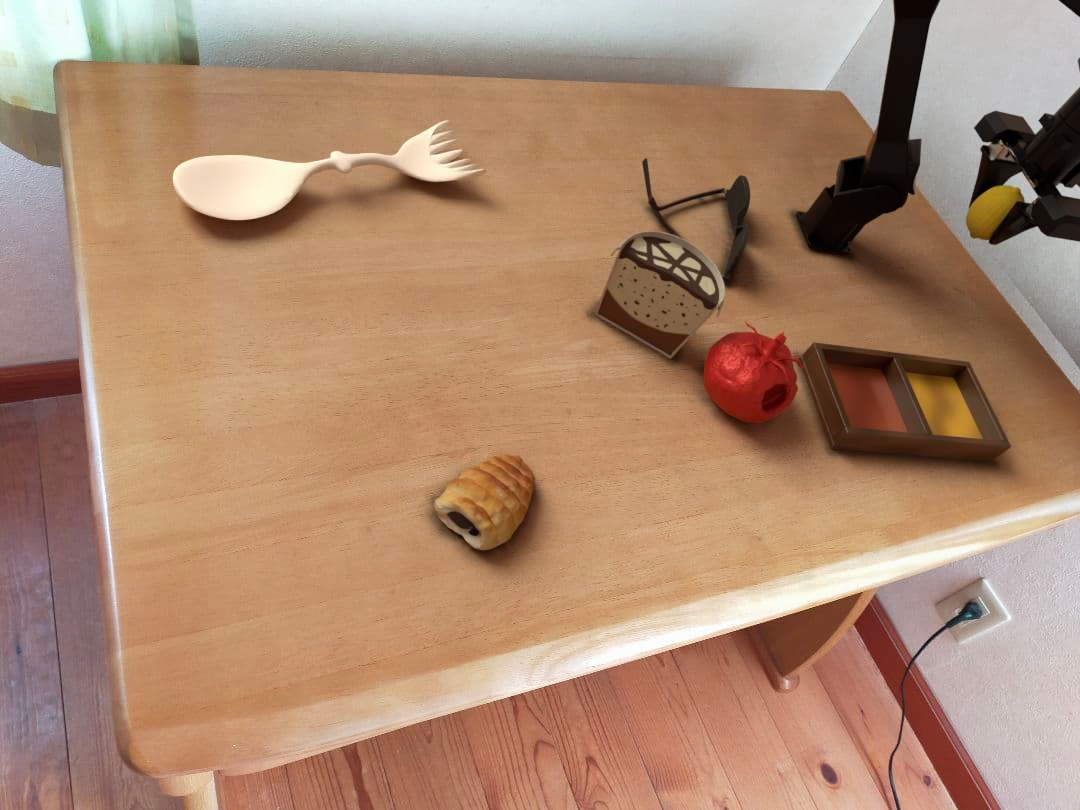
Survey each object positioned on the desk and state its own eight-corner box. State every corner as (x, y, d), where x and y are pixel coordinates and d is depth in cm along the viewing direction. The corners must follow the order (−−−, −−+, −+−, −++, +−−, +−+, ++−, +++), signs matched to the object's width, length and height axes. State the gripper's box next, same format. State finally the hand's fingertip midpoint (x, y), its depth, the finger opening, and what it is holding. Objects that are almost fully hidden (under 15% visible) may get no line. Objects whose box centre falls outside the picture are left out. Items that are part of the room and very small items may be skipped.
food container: (699, 331, 97) (743, 269, 90) (682, 366, 93) (727, 304, 86) (602, 275, 97) (638, 208, 90) (582, 307, 93) (618, 240, 86)
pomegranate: (676, 392, 91) (718, 335, 84) (715, 342, 97) (757, 285, 90) (754, 450, 89) (804, 398, 82) (789, 396, 96) (838, 343, 89)
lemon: (994, 259, 108) (1043, 211, 102) (955, 243, 107) (1002, 194, 101) (987, 230, 112) (1034, 182, 105) (949, 215, 111) (994, 166, 105)
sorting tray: (830, 448, 93) (847, 432, 91) (798, 359, 100) (813, 342, 97) (992, 461, 100) (1012, 447, 98) (952, 377, 107) (969, 361, 104)
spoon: (481, 192, 99) (489, 168, 96) (192, 240, 82) (193, 213, 80) (444, 139, 102) (451, 115, 100) (159, 175, 86) (159, 146, 83)
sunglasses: (634, 160, 112) (650, 129, 108) (736, 199, 114) (755, 170, 110) (622, 246, 101) (639, 215, 98) (735, 287, 104) (756, 258, 100)
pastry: (490, 447, 79) (502, 424, 76) (548, 495, 78) (563, 473, 75) (425, 513, 73) (435, 491, 70) (487, 565, 72) (500, 545, 70)
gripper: (1179, 193, 94) (1066, 290, 106) (1092, 84, 104) (998, 184, 116) (1104, 178, 90) (995, 281, 102) (1021, 66, 100) (932, 171, 112)
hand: (981, 226), depth 108 cm, fingers closed on lemon, 5 cm apart
